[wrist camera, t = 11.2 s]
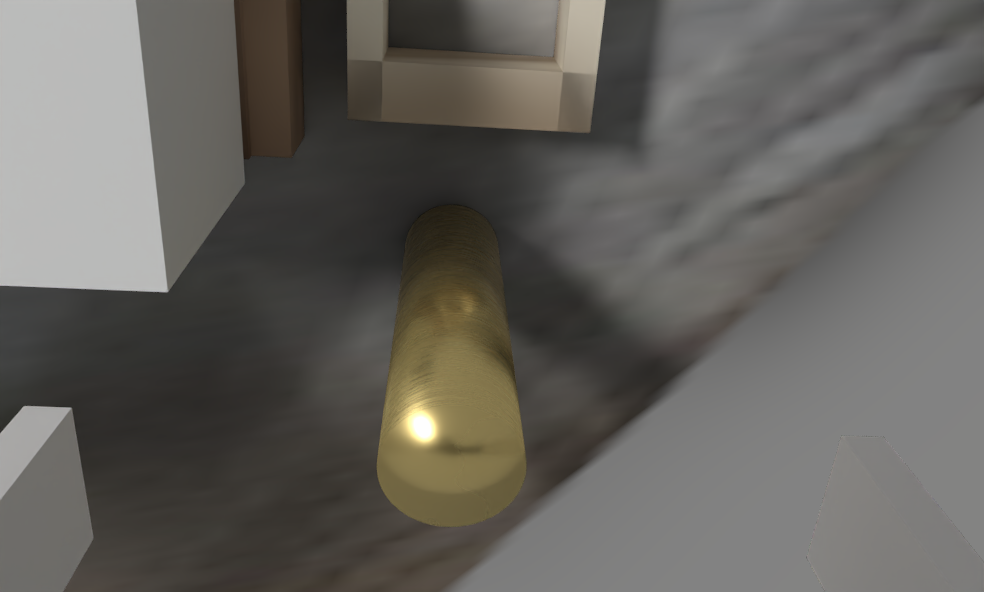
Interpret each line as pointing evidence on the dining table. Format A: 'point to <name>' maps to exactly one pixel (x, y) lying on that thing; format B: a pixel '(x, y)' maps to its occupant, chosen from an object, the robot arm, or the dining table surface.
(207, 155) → the block
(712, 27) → the dining table surface
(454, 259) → the brass pin
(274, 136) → the walnut board
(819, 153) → the dining table surface
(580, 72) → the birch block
